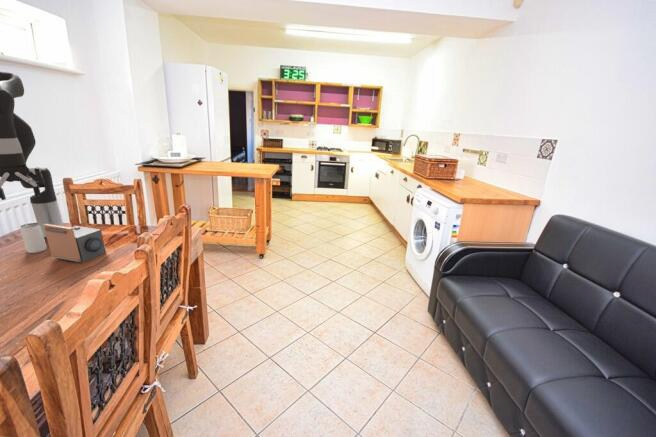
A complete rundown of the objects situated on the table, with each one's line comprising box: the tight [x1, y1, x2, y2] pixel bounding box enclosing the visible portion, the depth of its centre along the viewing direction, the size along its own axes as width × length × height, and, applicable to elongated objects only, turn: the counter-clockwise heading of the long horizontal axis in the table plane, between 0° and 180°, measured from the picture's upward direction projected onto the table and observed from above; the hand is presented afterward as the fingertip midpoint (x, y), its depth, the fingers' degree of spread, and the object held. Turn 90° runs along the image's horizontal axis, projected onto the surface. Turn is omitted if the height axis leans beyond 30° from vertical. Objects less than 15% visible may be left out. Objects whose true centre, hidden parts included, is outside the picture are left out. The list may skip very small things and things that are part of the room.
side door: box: [43, 224, 82, 263], centre depth 120 cm, size 14×2×15 cm, turn 75°
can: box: [19, 222, 48, 254], centre depth 130 cm, size 6×6×12 cm
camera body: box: [70, 225, 107, 263], centre depth 127 cm, size 16×10×12 cm, turn 75°
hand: (20, 197), depth 106 cm, fingers open, 8 cm apart
